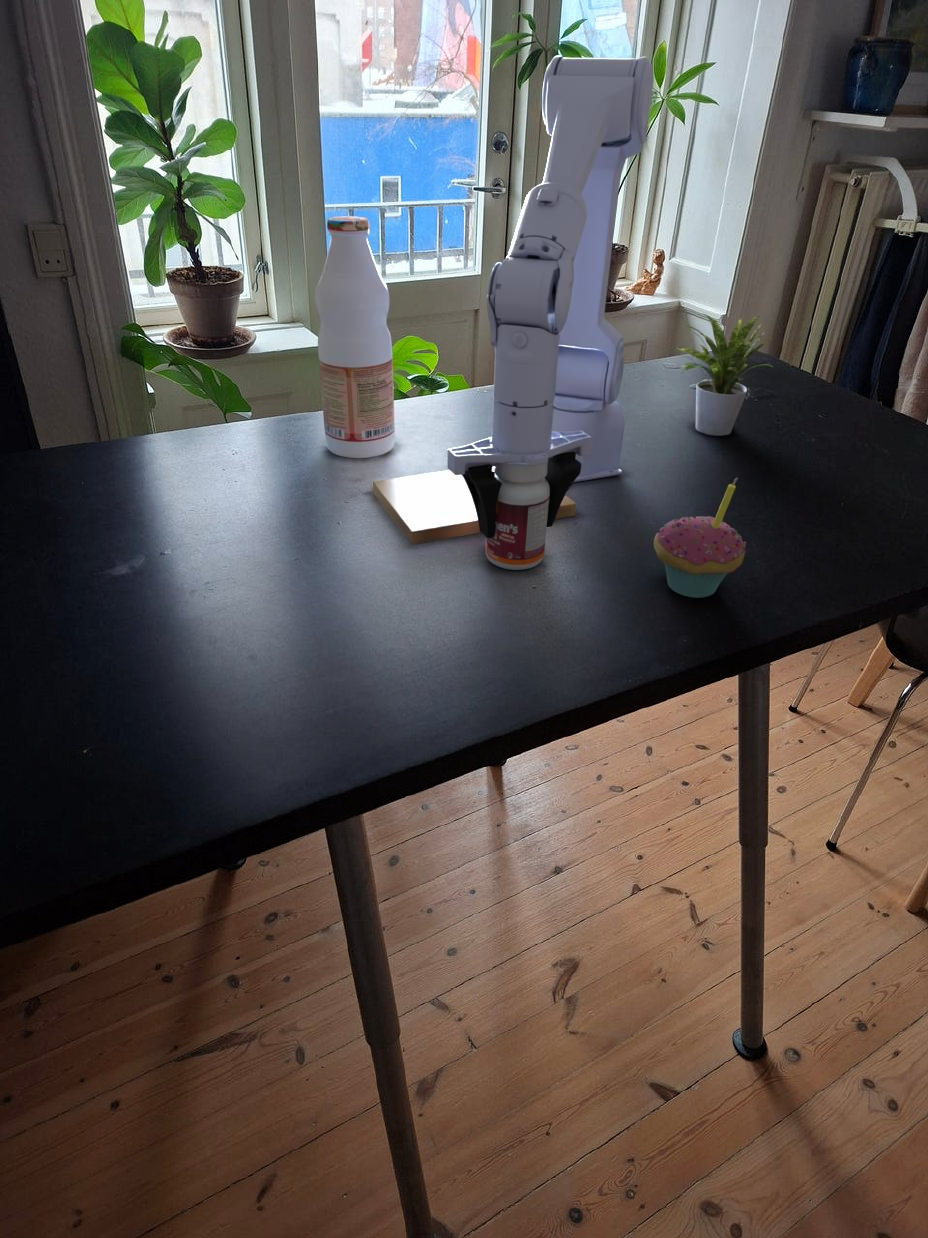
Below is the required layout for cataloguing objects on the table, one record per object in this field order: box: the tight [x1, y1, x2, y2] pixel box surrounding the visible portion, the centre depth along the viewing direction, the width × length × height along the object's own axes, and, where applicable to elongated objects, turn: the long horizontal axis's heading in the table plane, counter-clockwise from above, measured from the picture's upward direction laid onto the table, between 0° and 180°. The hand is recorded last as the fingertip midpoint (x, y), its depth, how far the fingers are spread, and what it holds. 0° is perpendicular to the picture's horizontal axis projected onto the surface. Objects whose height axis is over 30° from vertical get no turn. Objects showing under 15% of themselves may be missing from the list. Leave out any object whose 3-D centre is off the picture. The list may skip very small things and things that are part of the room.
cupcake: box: [653, 477, 747, 599], centre depth 77 cm, size 9×8×12 cm
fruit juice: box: [314, 215, 396, 459], centre depth 102 cm, size 9×9×28 cm
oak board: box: [372, 467, 577, 546], centre depth 94 cm, size 20×14×2 cm
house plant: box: [674, 312, 775, 436], centre depth 114 cm, size 14×14×16 cm
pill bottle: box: [485, 462, 550, 571], centre depth 81 cm, size 6×6×11 cm
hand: (515, 528), depth 82 cm, fingers closed on pill bottle, 6 cm apart
